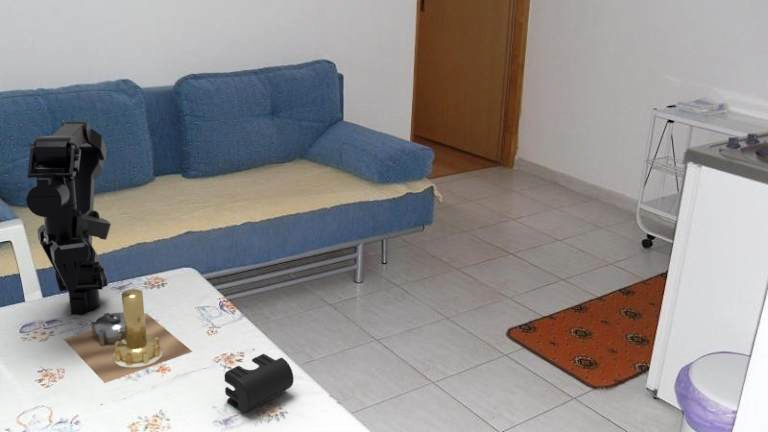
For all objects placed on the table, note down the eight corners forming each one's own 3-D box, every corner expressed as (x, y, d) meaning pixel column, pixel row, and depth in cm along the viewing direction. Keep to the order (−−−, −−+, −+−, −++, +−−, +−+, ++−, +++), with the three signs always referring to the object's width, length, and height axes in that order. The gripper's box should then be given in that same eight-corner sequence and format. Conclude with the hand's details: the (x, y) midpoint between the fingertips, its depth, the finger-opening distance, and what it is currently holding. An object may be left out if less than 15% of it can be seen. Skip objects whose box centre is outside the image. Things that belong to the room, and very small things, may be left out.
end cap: (249, 421, 128) (248, 386, 125) (223, 404, 132) (221, 370, 130) (294, 396, 135) (294, 363, 133) (268, 381, 139) (267, 348, 137)
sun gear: (87, 332, 150) (85, 313, 149) (127, 320, 155) (125, 302, 154) (105, 351, 144) (103, 331, 143) (146, 337, 149) (144, 318, 148)
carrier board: (64, 345, 148) (63, 337, 148) (146, 319, 159) (146, 311, 158) (105, 390, 135) (104, 381, 134) (192, 358, 146) (192, 350, 145)
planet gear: (126, 340, 147) (120, 282, 143) (167, 344, 146) (162, 285, 142) (106, 363, 140) (100, 302, 135) (150, 367, 139) (144, 305, 134)
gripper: (117, 209, 138) (123, 291, 142) (93, 191, 153) (99, 265, 157) (50, 216, 132) (59, 302, 136) (33, 197, 148) (41, 274, 151)
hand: (67, 284), depth 145 cm, fingers open, 9 cm apart
